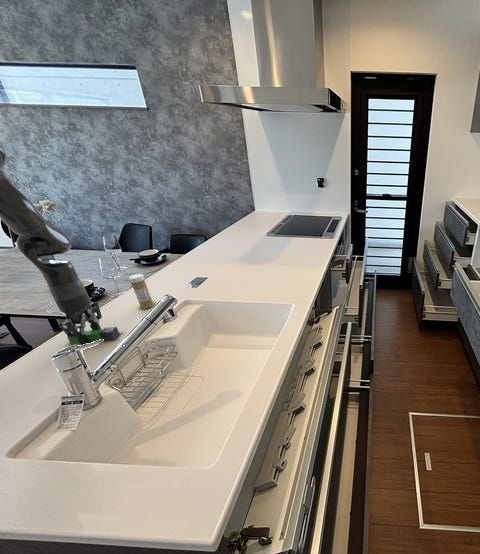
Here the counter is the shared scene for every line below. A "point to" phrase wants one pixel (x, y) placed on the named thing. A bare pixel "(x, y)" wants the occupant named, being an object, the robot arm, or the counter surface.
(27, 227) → the robot arm
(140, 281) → the sprinkles bottle
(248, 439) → the counter surface
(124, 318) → the counter surface
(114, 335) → the marker
